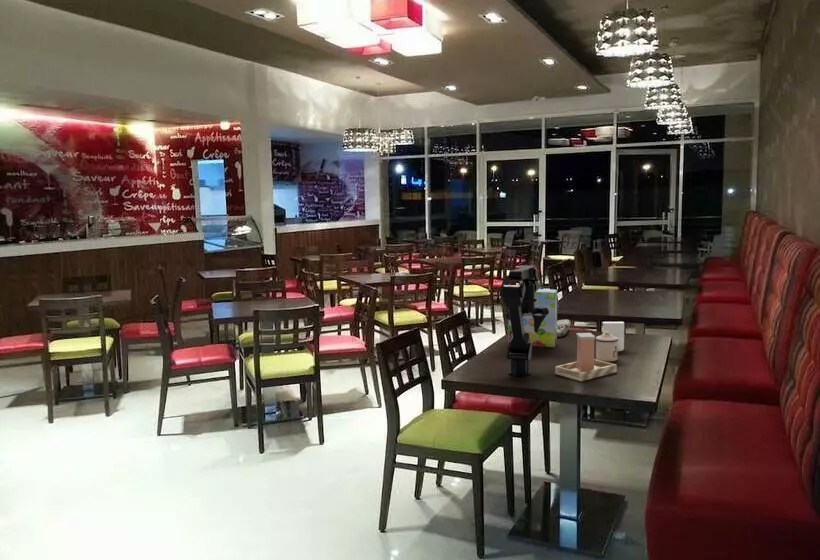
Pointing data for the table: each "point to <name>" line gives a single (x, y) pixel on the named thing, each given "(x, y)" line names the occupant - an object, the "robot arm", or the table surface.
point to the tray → (574, 373)
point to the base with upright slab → (615, 332)
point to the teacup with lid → (606, 347)
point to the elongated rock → (562, 327)
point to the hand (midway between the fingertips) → (527, 334)
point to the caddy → (585, 351)
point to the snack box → (548, 327)
